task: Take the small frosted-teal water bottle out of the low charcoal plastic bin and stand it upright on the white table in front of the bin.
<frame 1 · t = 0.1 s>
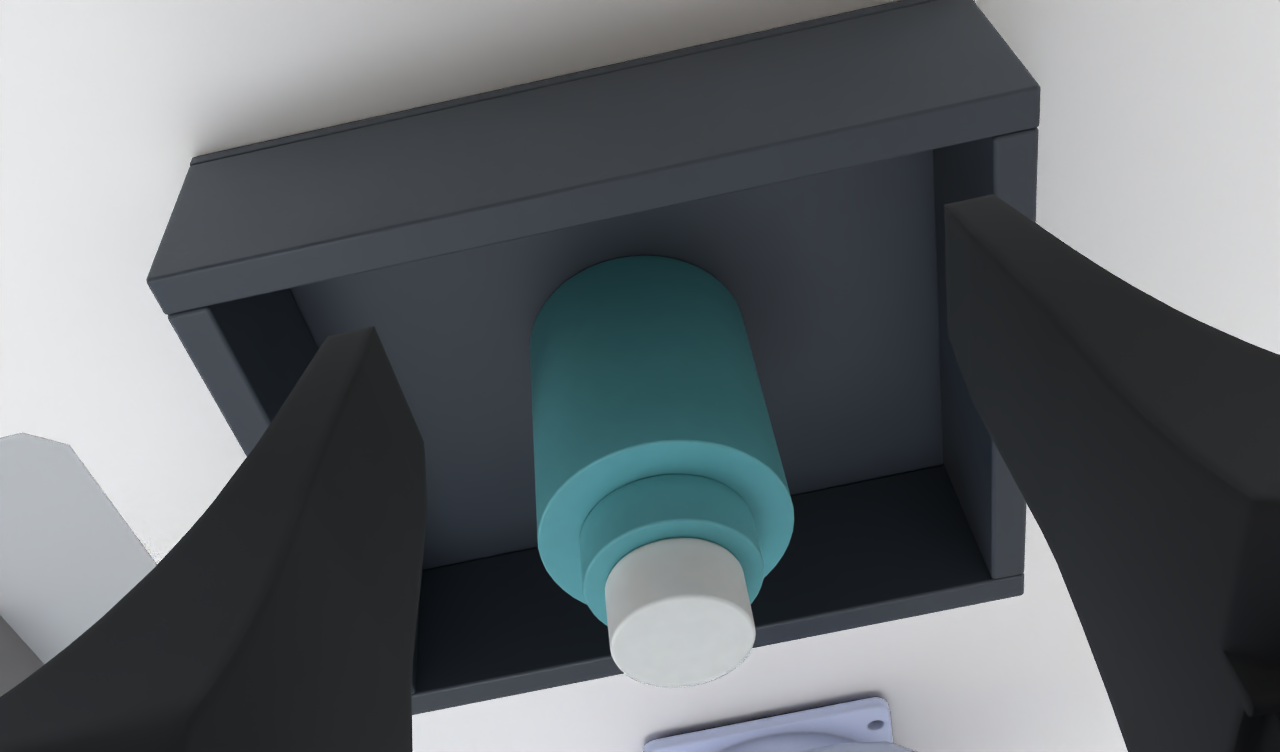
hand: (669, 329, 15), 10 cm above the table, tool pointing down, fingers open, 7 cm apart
bin: (636, 336, 28), on the table
bottle: (637, 344, 28), resting on bin
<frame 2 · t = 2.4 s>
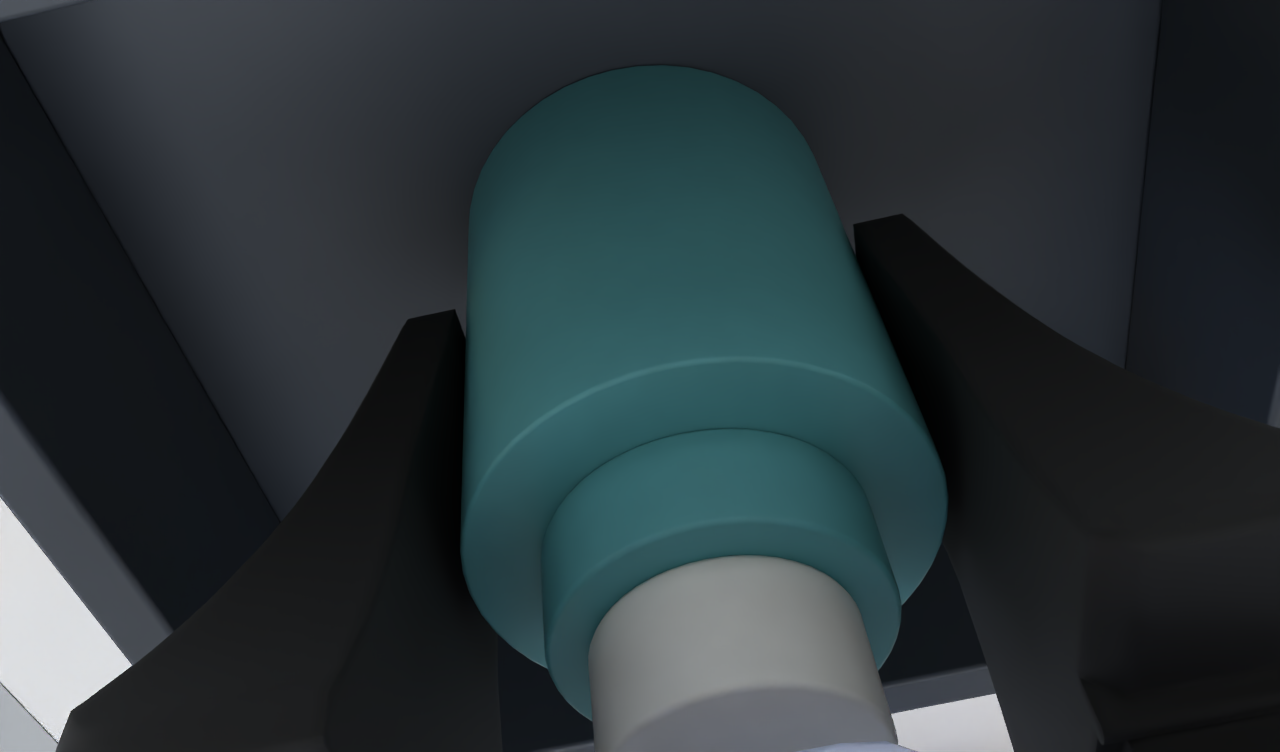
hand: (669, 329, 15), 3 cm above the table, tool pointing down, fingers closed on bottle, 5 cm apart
bin: (648, 218, 17), on the table
bottle: (648, 230, 17), resting on bin, touching gripper
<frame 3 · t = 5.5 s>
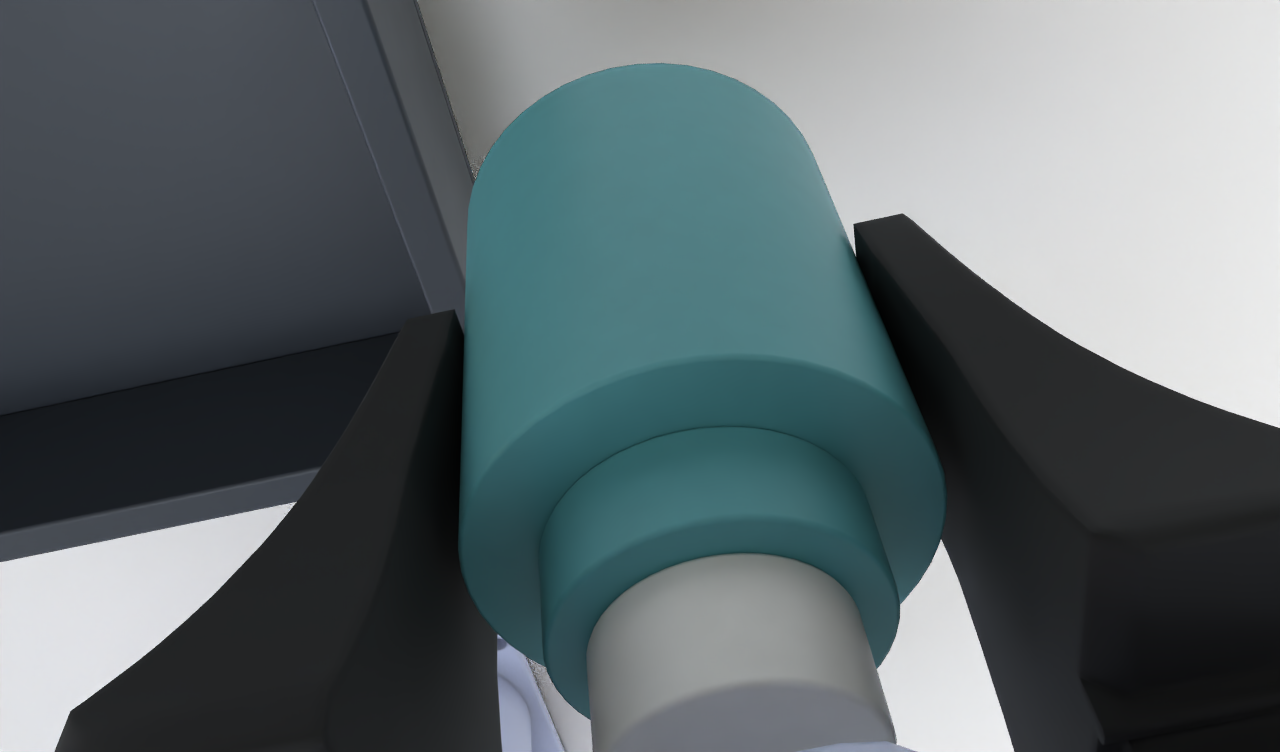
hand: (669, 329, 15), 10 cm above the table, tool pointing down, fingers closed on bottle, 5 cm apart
bin: (43, 138, 23), on the table
bottle: (647, 228, 17), point 8 cm above the table, touching gripper
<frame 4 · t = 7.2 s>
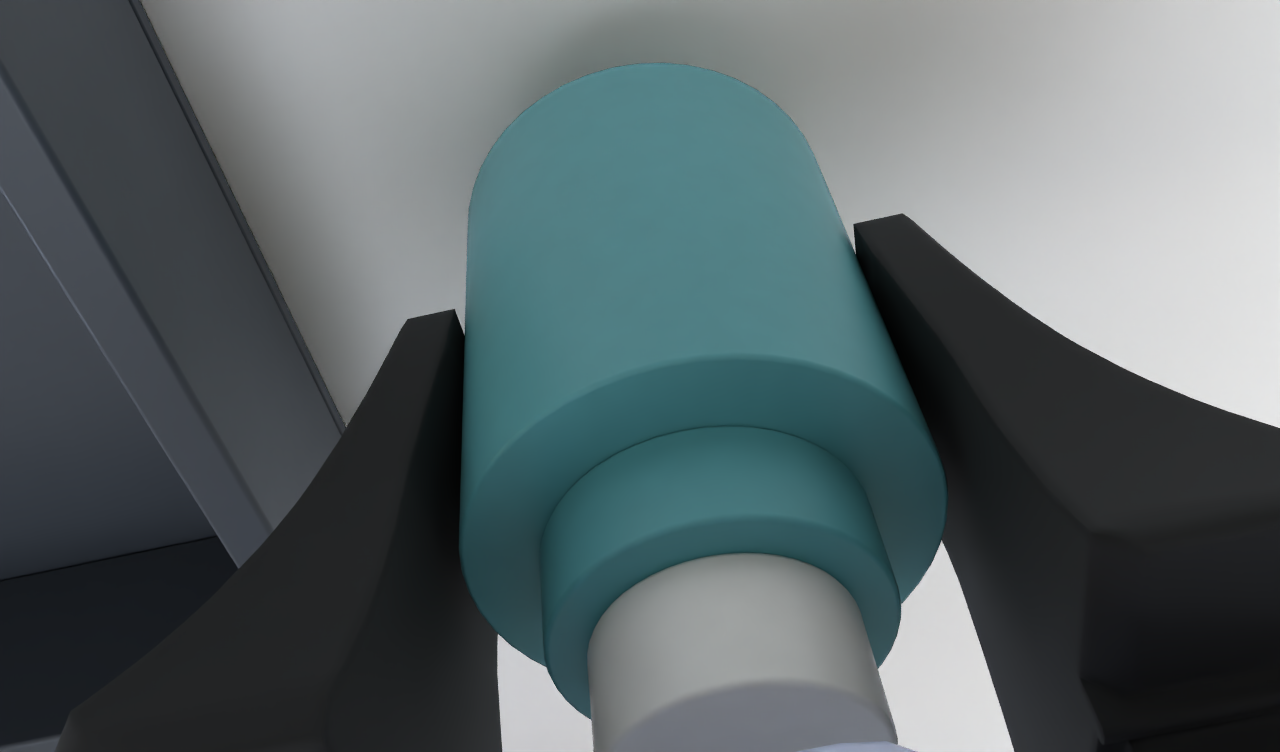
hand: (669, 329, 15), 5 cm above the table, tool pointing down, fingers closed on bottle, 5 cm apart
bottle: (647, 228, 17), point 2 cm above the table, touching gripper
when the fingers open (2 cm above the table, at t = 8.5 s): bottle stays where it is, on the table.
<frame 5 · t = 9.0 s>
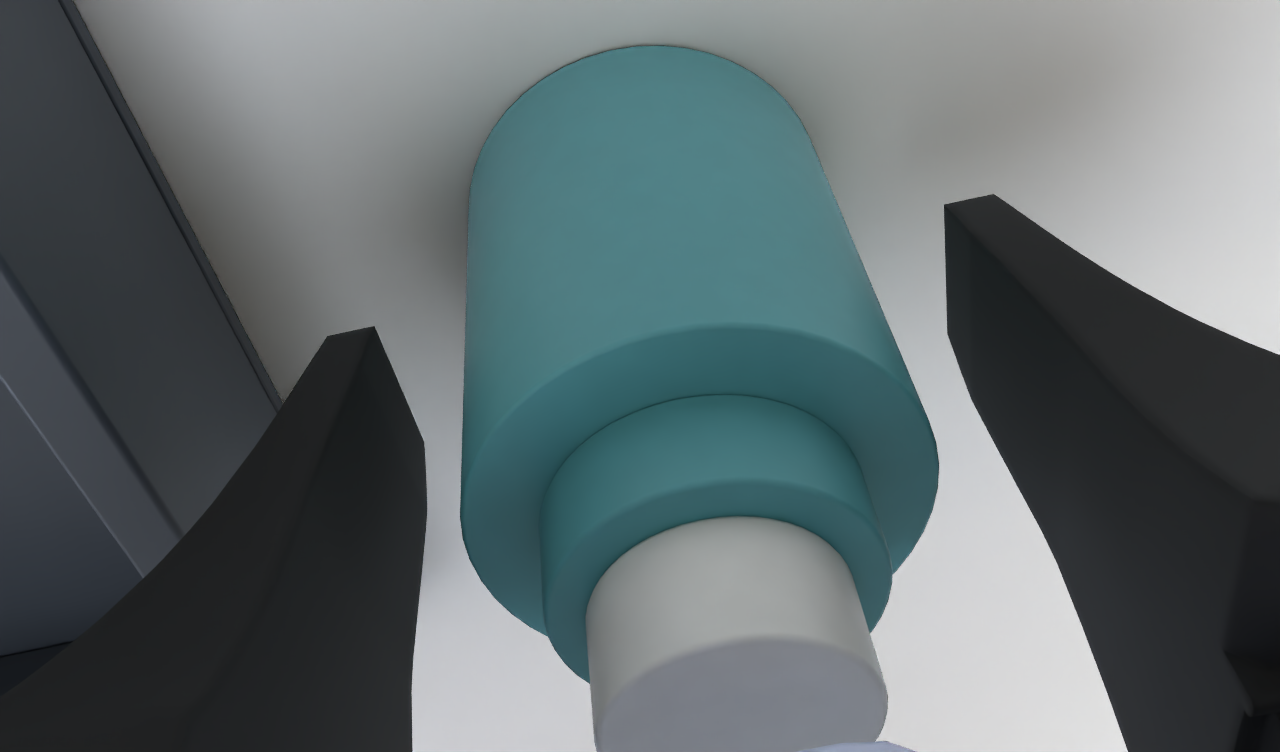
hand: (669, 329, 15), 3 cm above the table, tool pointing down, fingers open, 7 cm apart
bottle: (645, 210, 17), on the table
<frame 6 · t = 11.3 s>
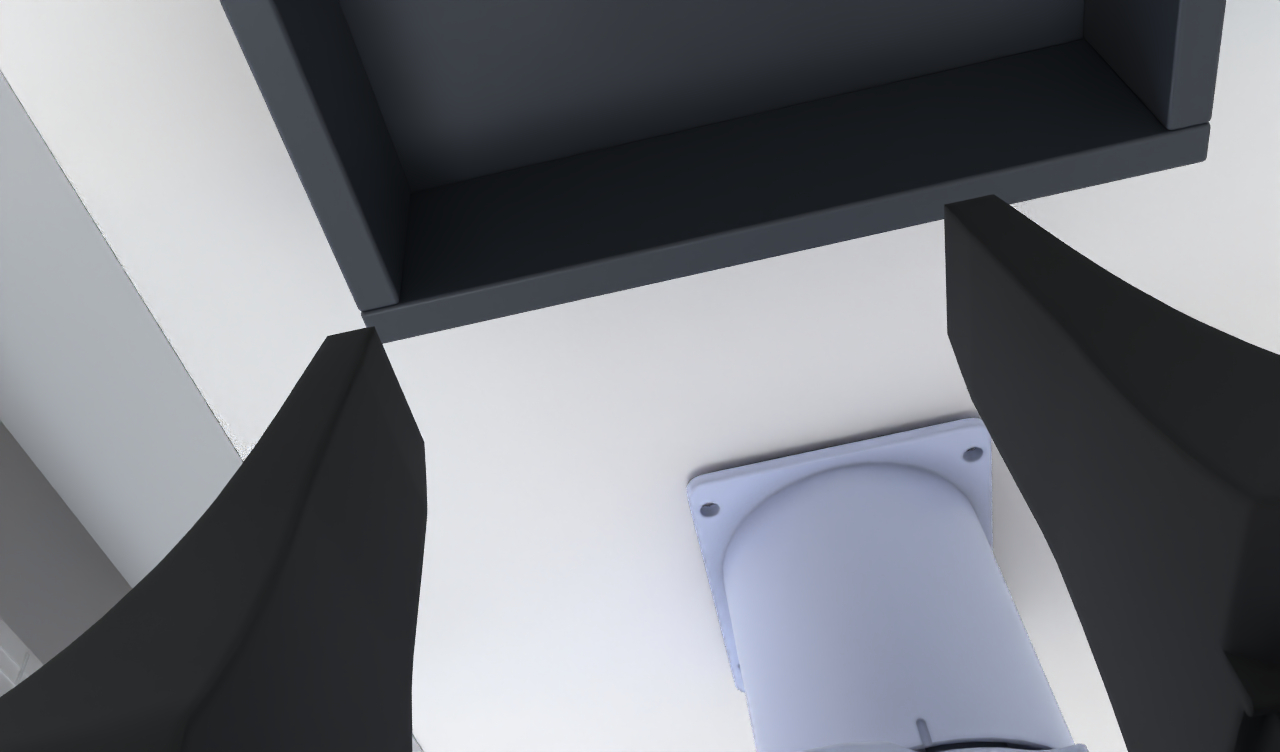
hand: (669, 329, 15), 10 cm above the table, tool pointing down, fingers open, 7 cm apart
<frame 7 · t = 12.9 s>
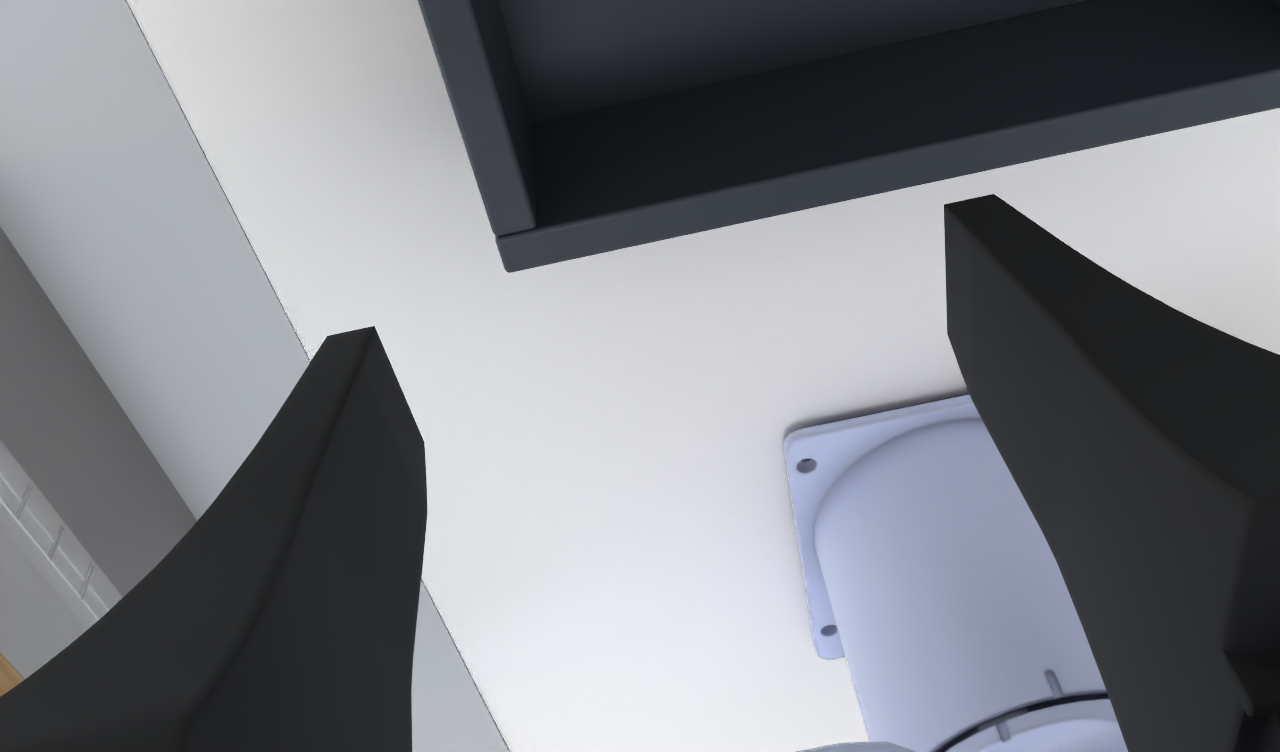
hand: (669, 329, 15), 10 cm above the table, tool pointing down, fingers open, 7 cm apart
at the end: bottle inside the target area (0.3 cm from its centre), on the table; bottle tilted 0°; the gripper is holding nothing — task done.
